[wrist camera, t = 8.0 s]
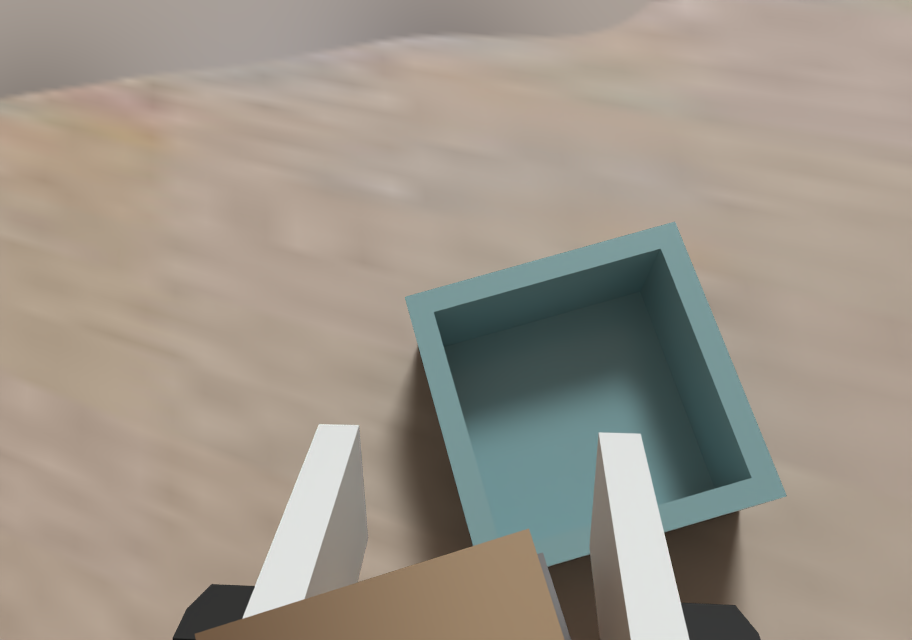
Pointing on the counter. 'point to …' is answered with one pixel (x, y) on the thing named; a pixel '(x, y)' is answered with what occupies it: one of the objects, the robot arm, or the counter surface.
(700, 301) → the teal storage bin
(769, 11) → the counter surface
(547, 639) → the wooden post on plate
